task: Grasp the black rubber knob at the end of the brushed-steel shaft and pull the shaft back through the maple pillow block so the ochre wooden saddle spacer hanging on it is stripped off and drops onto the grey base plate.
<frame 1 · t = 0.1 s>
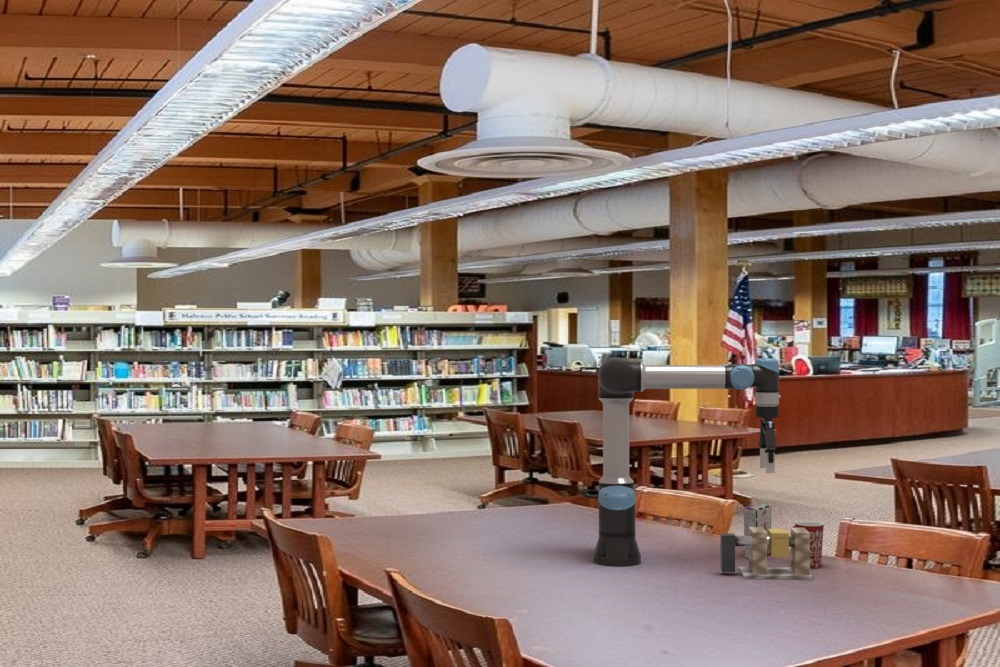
hand: (767, 470, 388), 28 cm above the table, fingers open, 13 cm apart
candy bar box: (757, 556, 388), on the table
mug: (805, 565, 373), on the table
shaft: (761, 553, 359), point 7 cm above the table, slide at 0.0 cm, touching spacer
spacer: (778, 554, 358), point 6 cm above the table, touching shaft
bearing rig: (771, 574, 358), on the table
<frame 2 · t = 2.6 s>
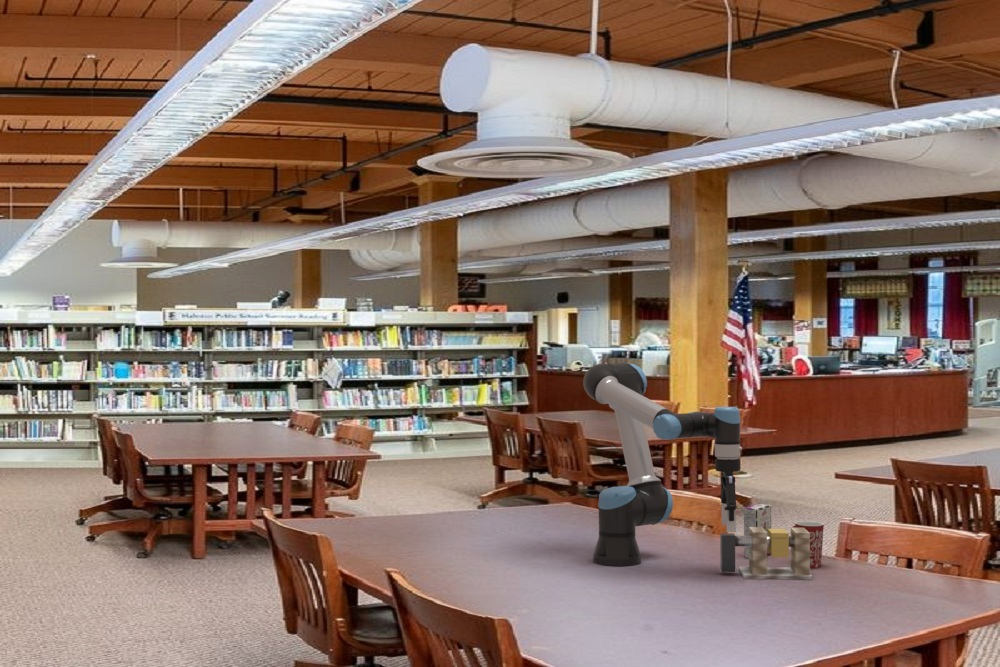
hand: (728, 528, 359), 14 cm above the table, fingers open, 13 cm apart
nothing on the table moved.
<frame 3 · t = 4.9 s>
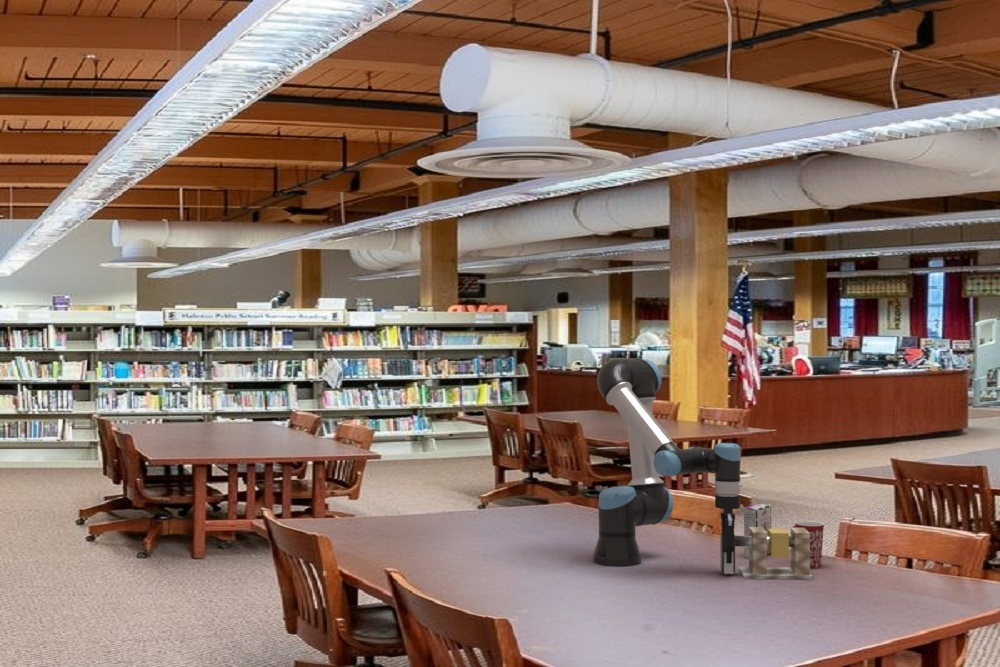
hand: (727, 571, 359), 1 cm above the table, fingers closed on shaft, 4 cm apart
shaft: (761, 553, 359), point 6 cm above the table, slide at 0.0 cm, touching gripper, spacer
everything else where it was.
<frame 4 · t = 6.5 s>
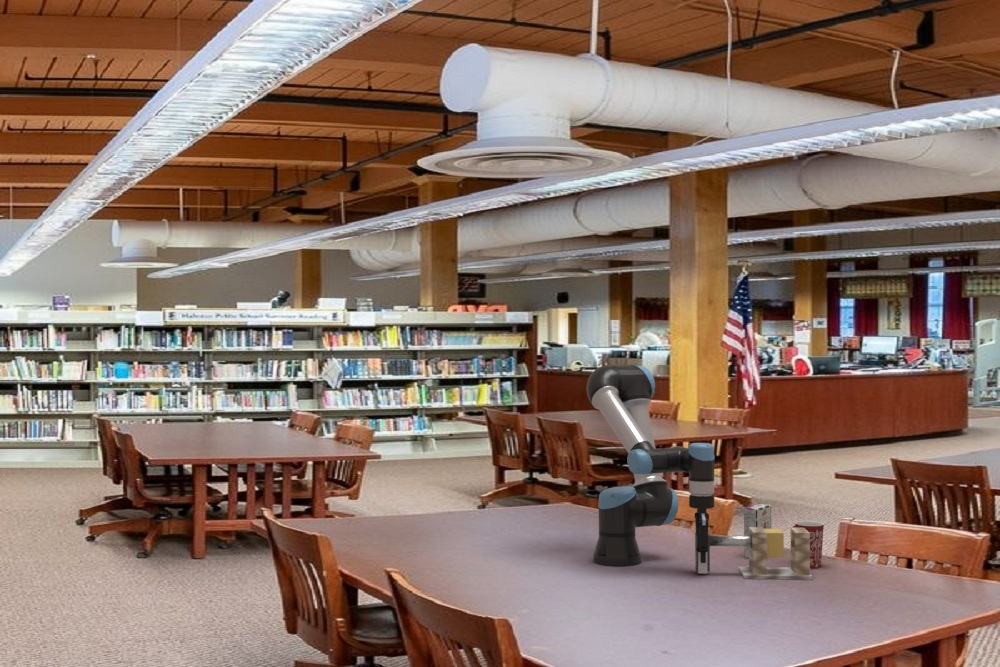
hand: (701, 571, 360), 1 cm above the table, fingers closed on shaft, 4 cm apart
shaft: (735, 552, 359), point 7 cm above the table, slide at 7.6 cm, touching gripper
spacer: (773, 554, 358), point 6 cm above the table
everything else where it was.
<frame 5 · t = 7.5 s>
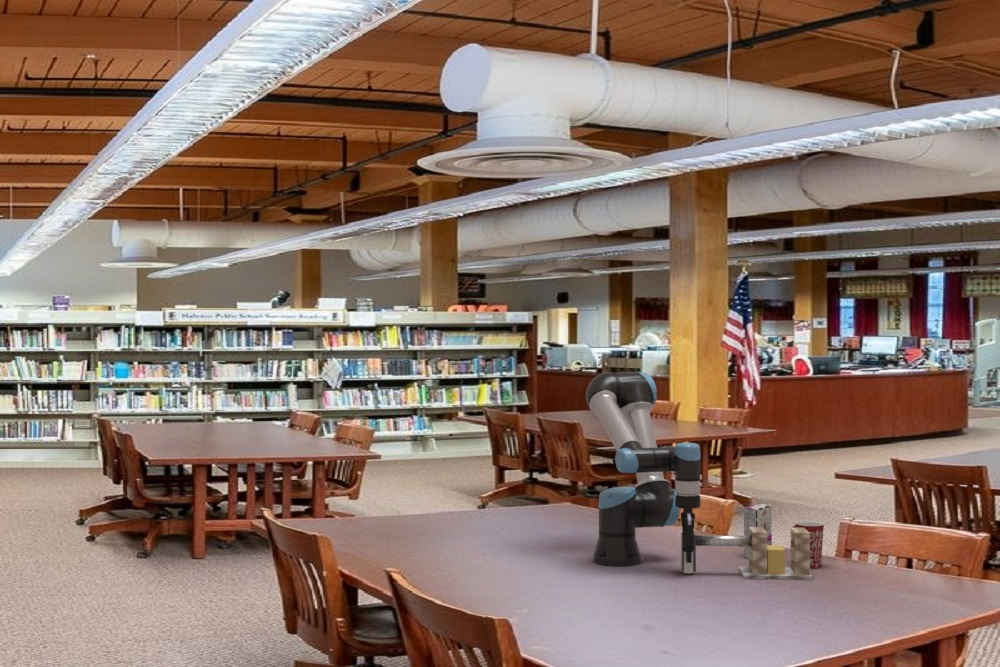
hand: (687, 571, 360), 1 cm above the table, fingers closed on shaft, 4 cm apart
shaft: (721, 552, 359), point 7 cm above the table, slide at 11.8 cm, touching gripper
spacer: (774, 571, 358), point 1 cm above the table, touching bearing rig
everything else where it was.
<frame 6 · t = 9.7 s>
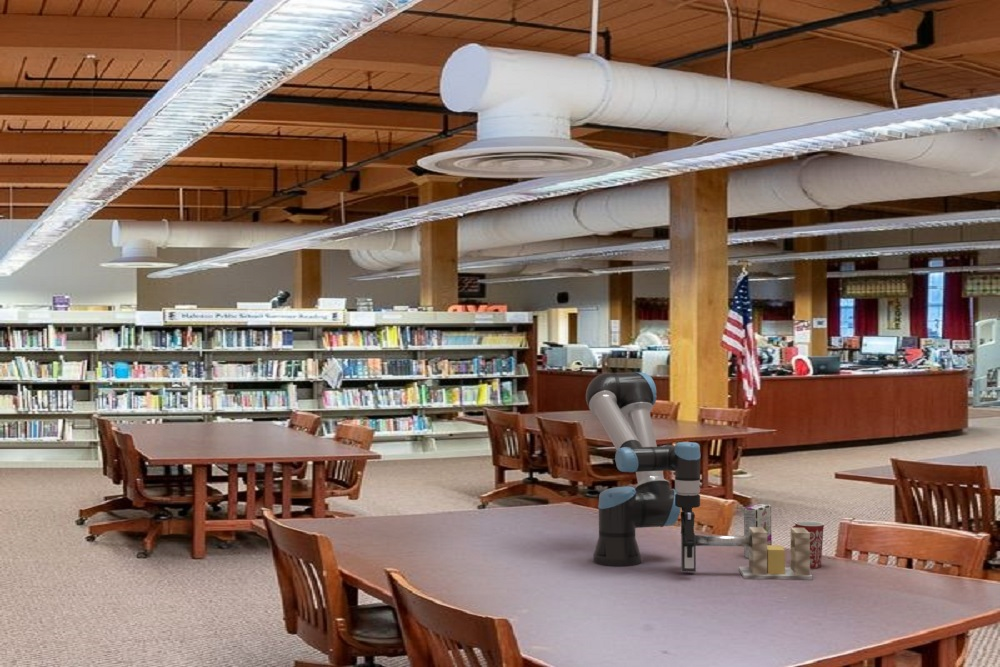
hand: (687, 563, 360), 3 cm above the table, fingers open, 13 cm apart
shaft: (721, 552, 359), point 6 cm above the table, slide at 11.8 cm
everything else where it was.
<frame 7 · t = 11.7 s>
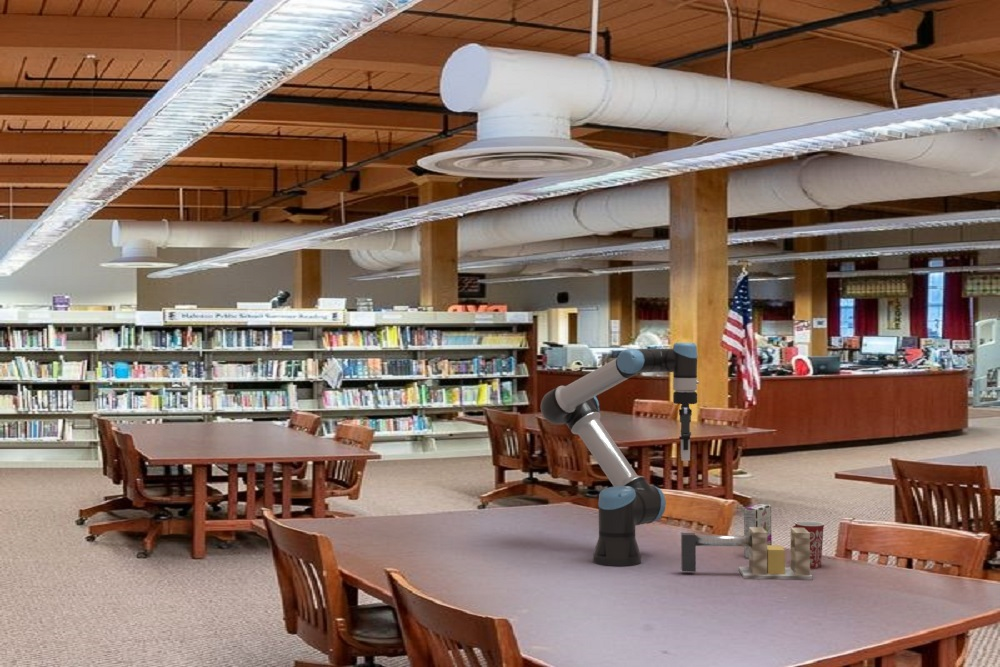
hand: (685, 458, 377), 33 cm above the table, fingers open, 13 cm apart
nothing on the table moved.
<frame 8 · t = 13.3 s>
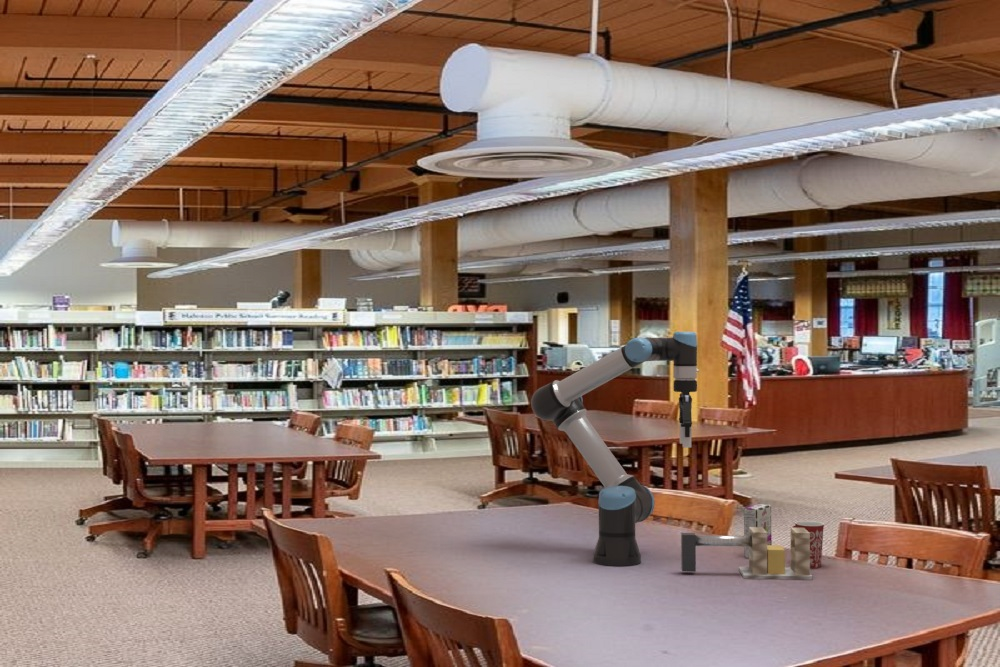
hand: (685, 445, 382), 37 cm above the table, fingers open, 13 cm apart
nothing on the table moved.
at the end: shaft slide at 11.8 cm; spacer point 1.0 cm above the table; spacer touching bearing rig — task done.
